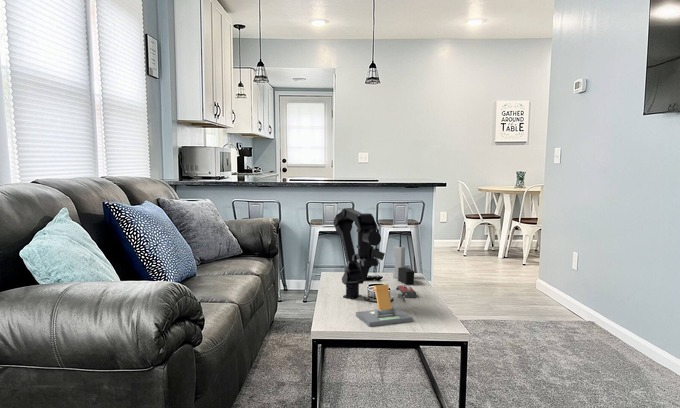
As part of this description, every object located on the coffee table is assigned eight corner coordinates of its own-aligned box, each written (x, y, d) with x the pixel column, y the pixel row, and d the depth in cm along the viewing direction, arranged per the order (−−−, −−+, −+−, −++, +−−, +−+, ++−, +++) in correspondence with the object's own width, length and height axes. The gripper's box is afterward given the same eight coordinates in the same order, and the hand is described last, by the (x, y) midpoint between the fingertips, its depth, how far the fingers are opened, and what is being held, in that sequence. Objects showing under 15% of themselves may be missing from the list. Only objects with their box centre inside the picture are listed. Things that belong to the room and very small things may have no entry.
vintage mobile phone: (396, 276, 243) (397, 230, 241) (404, 277, 240) (405, 231, 238) (393, 277, 240) (393, 231, 238) (400, 279, 237) (401, 232, 235)
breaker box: (355, 315, 175) (355, 304, 175) (396, 311, 181) (396, 300, 181) (369, 326, 163) (369, 314, 162) (412, 321, 169) (412, 309, 169)
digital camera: (416, 284, 225) (416, 271, 225) (406, 285, 224) (406, 271, 223) (407, 279, 235) (407, 266, 235) (398, 280, 234) (398, 267, 233)
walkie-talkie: (391, 291, 213) (401, 303, 193) (392, 282, 213) (401, 293, 193) (409, 291, 214) (421, 303, 194) (410, 282, 214) (421, 293, 194)
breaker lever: (378, 315, 170) (373, 286, 174) (391, 314, 172) (386, 285, 176) (380, 315, 168) (375, 285, 172) (393, 313, 170) (388, 284, 174)
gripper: (390, 245, 181) (390, 283, 181) (375, 240, 199) (375, 275, 199) (364, 246, 178) (364, 284, 179) (351, 241, 196) (351, 276, 197)
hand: (364, 280), depth 188 cm, fingers closed
